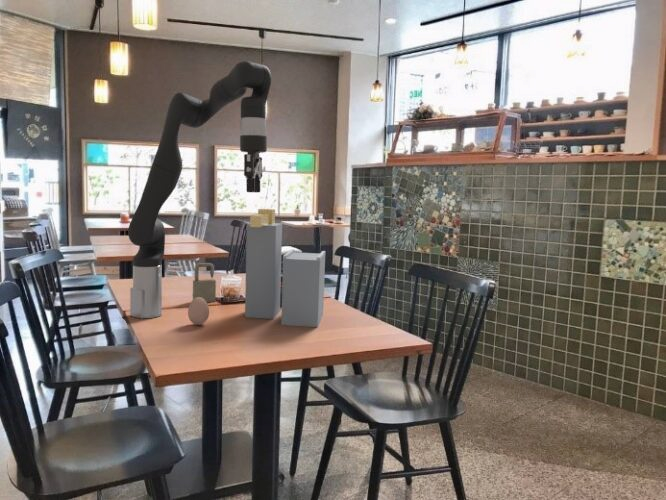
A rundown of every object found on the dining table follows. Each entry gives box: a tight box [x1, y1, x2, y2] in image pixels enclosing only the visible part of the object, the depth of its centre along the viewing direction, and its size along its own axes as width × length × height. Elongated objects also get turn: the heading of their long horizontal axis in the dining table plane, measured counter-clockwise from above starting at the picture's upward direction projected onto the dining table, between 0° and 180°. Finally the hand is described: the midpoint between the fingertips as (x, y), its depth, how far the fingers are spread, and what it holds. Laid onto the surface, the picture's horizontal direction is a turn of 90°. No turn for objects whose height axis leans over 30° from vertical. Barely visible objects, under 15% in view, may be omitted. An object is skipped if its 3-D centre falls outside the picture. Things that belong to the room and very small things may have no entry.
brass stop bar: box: [249, 208, 276, 227], centre depth 184 cm, size 20×5×5 cm, turn 175°
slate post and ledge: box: [244, 222, 326, 328], centre depth 187 cm, size 20×26×32 cm
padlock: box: [192, 262, 217, 303], centre depth 209 cm, size 4×8×15 cm, turn 119°
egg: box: [187, 297, 210, 326], centre depth 175 cm, size 7×7×9 cm
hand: (253, 192), depth 157 cm, fingers open, 8 cm apart
